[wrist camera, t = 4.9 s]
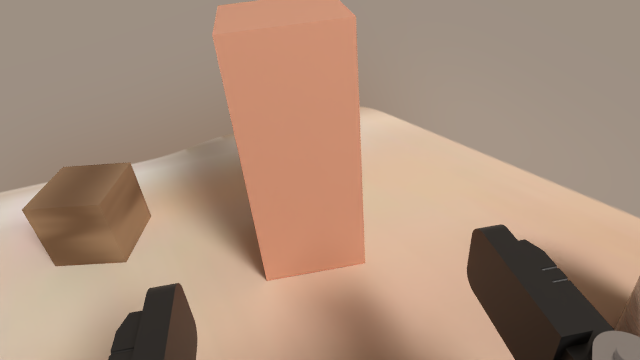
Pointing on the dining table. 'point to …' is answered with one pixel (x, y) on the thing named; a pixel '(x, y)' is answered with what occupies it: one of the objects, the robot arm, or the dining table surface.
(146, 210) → the walnut cube
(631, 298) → the grey tin
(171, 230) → the dining table surface
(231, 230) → the dining table surface
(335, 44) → the terracotta block
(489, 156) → the dining table surface
